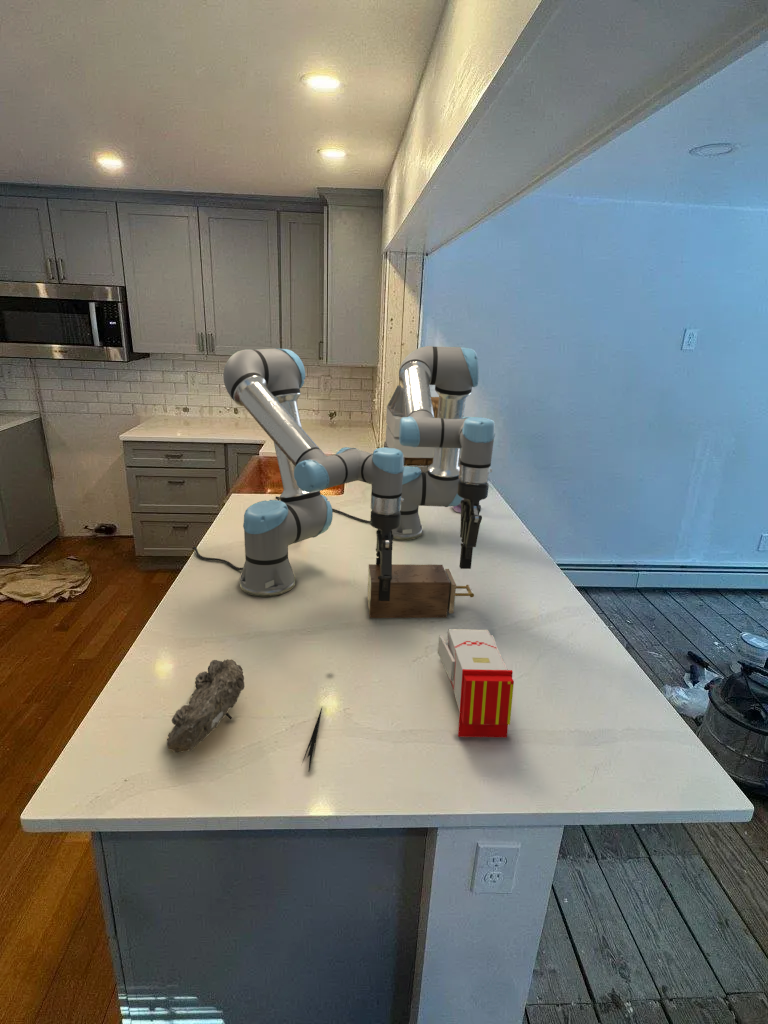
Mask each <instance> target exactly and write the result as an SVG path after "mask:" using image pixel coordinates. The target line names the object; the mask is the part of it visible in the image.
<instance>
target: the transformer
mask: <svg viewBox="0 0 768 1024" xmlns="http://www.w3.org/2000/svg"><path fill="white" fill-rule="evenodd" d="M431 400H432V406H433V413H434V418H437V413H438V403H439V396H431ZM385 414H386V415H385V423H386V428H385V438H384V442H383V448H384V447H386V448H395V449H398V450H400V451H401V452H402V453H403V462H404V466H413V467H428V466H429V465H431V464H432V463H433V456H434V447H411V446H403V445H401V444H400V442H399V426H400V420H401V418H403V417H406V414H405V402H404V389H403V386H402V385H399V384H398V385H397V386H396V388H395V390H394V392H393V394H392V395H391V398H390V400H389V402H388V404H387V405H386V413H385ZM460 460H461V448H460V452H459V461H458V466H459V467H460Z"/></svg>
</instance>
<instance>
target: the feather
mask: <svg viewBox="0 0 768 1024" xmlns="http://www.w3.org/2000/svg"><path fill="white" fill-rule="evenodd" d="M329 675H330V676H331V675H332V674H331V673H330V674H329ZM322 710H323V707H321V708H320V710H319V713H318V716H317V719H316V723H315V725H314V728H313V731H312V733H311V737H310V739H309V742H308V745H307V748H306V751H305V754H304V757H303V760H302V763H301V767H302V765H303V763H304V761H305V758H308V759H309V760H308V762H307V763H308V764H307V766H308V771H310V770H311V766H312V765H311V764H312V760H313V757H315V756H314V755H315V751H316V749H315V746H317V739H318V733H319V729H320V722H321V717H322V712H323V711H322ZM313 754H314V755H313ZM306 755H307V757H306Z"/></svg>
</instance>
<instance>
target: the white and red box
mask: <svg viewBox="0 0 768 1024" xmlns="http://www.w3.org/2000/svg"><path fill="white" fill-rule="evenodd" d="M446 640H447V643H446V641H445V639H444V636H443V635H442V634H439V637H438V646H437V656H438V657H439V659H440V661H441V663H442V666H443V668H444V670H445V672H446V674H447V677H448V679H449V681H450V684H451V687H452V690H453V693H454V697H455V701H456V705H457V708H458V711H459V714H458V715H459V716H458V730H457V731H458V732H457V737H458V738H508V731H509V726H510V725H511V717H512V707H513V697H514V696H513V695H514V684H515V680H514V679H513V673H514V671H513V670H512V669H508V667H507V665H506V662H505V661H504V659H503V658H502V655H501V653H500V651H499V649H498V647H497V643H496V639H495V637H494V635H493V634H491V632H490V631H489V629H467V628H466V629H465V628H463V629H461V628H460V629H459V628H448V630H447V639H446Z"/></svg>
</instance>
